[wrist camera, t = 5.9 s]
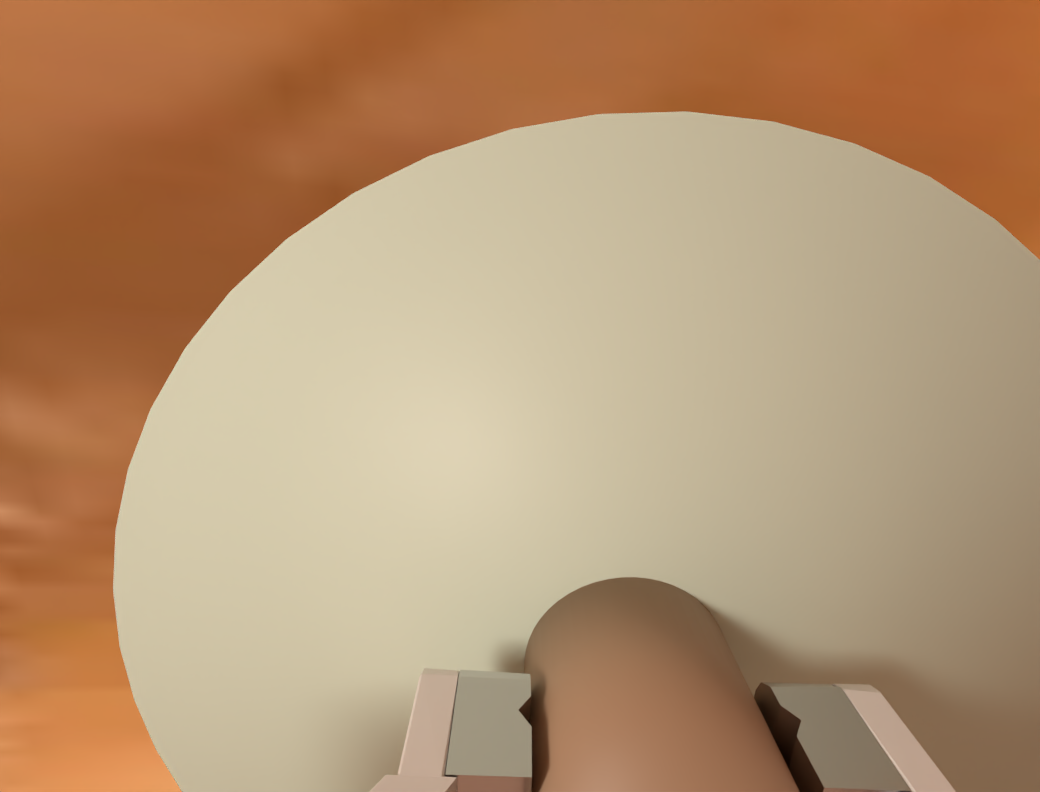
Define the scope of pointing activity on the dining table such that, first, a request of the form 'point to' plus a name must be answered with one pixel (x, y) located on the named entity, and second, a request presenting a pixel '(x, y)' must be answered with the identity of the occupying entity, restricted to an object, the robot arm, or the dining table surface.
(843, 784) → the robot arm
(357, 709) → the lid
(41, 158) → the dining table surface
